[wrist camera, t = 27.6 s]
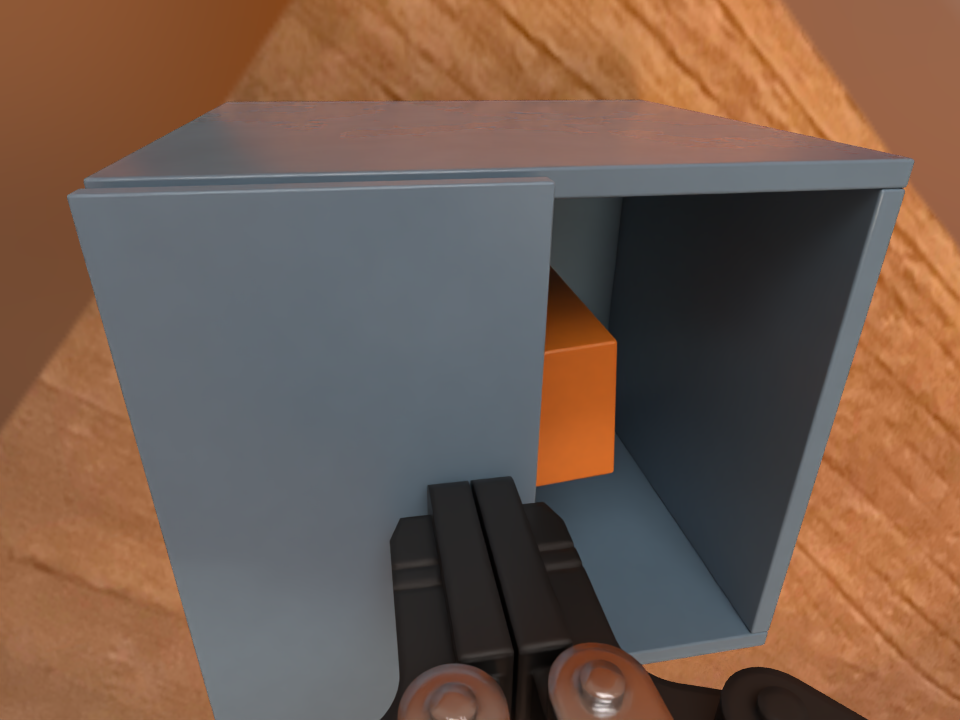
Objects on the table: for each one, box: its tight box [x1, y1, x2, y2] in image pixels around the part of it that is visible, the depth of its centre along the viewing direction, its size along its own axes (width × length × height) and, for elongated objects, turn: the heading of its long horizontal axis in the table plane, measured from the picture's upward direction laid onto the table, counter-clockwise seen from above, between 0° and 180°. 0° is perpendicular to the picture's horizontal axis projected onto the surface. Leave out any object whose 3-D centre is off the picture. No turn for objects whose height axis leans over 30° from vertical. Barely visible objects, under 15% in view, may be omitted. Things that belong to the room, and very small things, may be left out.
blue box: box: [84, 100, 914, 665], centre depth 17 cm, size 13×12×12 cm
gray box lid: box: [67, 177, 555, 720], centre depth 11 cm, size 6×12×1 cm, turn 179°
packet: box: [536, 266, 617, 487], centre depth 18 cm, size 5×4×9 cm
